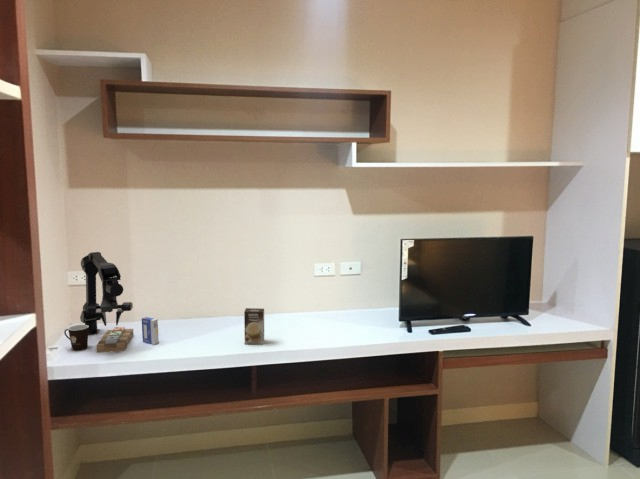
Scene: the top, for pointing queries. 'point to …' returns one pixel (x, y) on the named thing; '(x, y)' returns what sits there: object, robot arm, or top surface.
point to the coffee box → (254, 326)
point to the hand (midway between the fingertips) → (111, 325)
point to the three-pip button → (116, 334)
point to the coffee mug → (78, 337)
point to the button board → (115, 347)
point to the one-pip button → (112, 339)
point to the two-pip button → (119, 329)
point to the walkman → (150, 330)
